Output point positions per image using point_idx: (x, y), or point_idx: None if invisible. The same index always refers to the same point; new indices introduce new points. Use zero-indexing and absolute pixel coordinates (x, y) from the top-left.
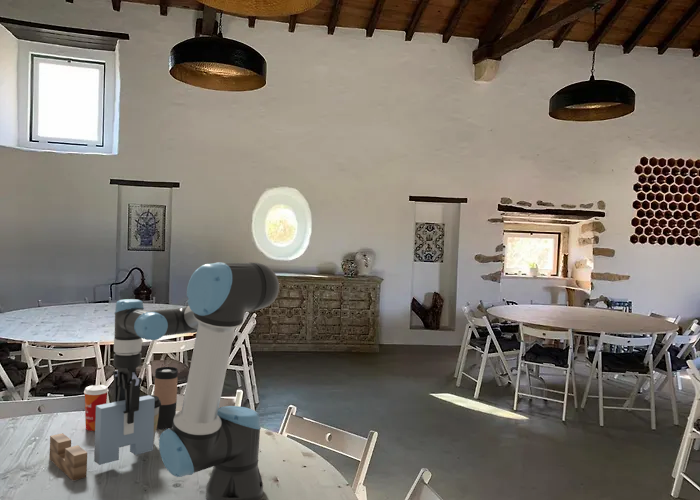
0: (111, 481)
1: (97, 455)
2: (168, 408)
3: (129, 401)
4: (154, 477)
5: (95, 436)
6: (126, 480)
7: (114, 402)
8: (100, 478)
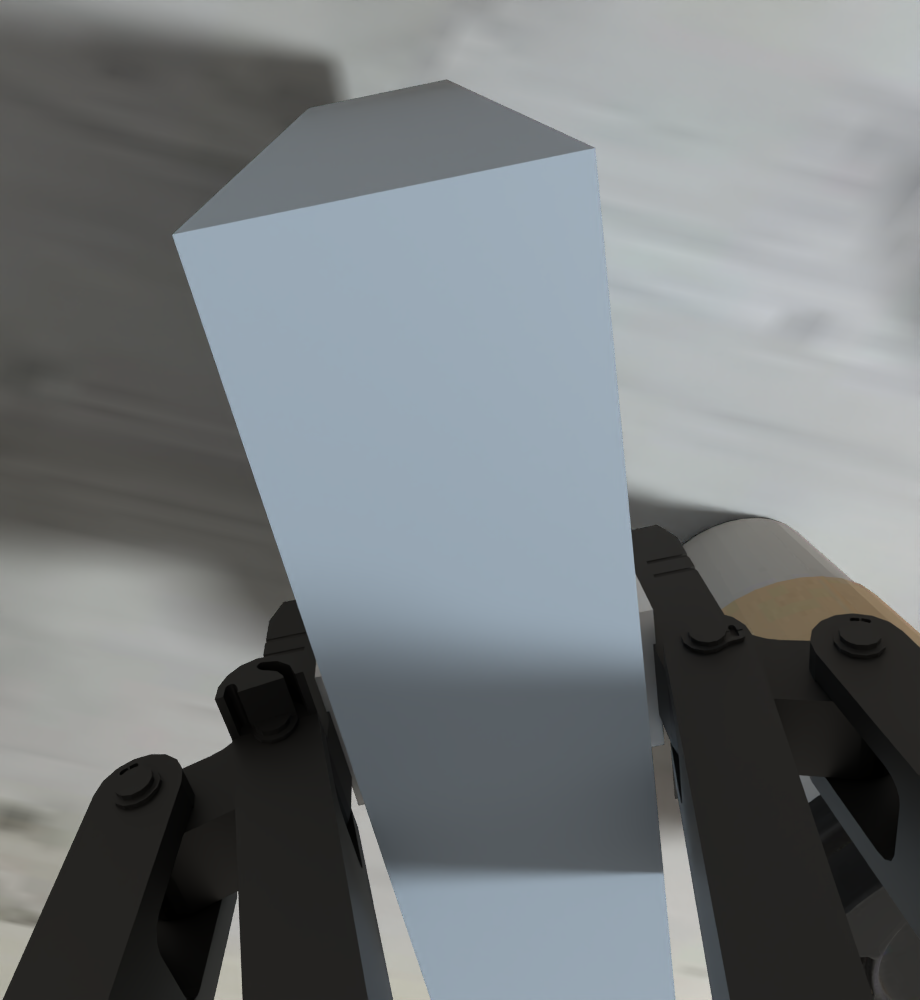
0: (113, 176)
1: (362, 101)
2: None
3: (113, 960)
4: (75, 508)
5: (454, 97)
6: (90, 303)
7: (601, 650)
8: (219, 94)
